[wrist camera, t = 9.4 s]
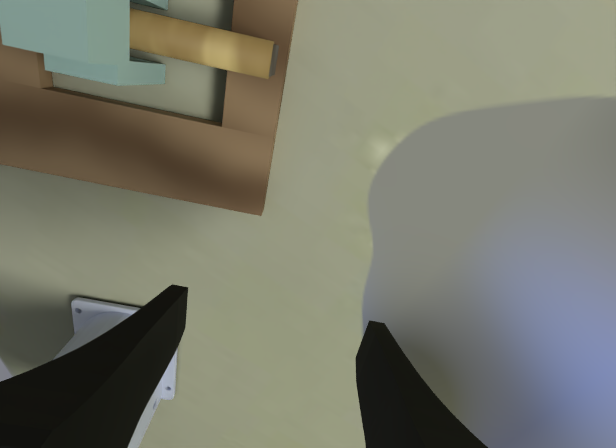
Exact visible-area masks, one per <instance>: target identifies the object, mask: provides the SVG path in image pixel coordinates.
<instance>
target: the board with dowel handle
mask: <svg viewBox="0 0 616 448" xmlns="http://www.w3.org/2000/svg"><path fill="white" fill-rule="evenodd" d="M297 4H298V0H234V7H233V17H232V28H231V31H227V30H223V29H218V28H214V27H210V26H205V25H201V24H197V23H192V22H188V21H184V20H179V19H175V18H171V17H167V16H162V15H158V14H154V13H149V12H145V11H141V10H136V9H132V8H130V45H129V48H131V49H136V50H140V51H144V52H149V53H153V54H158V55H162V56H167V57H171V58H176V59H180V60H184V61H189V62H193V63H198V64H202V65H207V66H211V67H216V68H220V69H224V70H227V79H226V90H225V100H224V110H223V121H222V123H219V122H214V121H210V120H205V119H200V118H196V117H191V116H186V115H182V114H177V113H172V112H168V111H163V110H158V109H154V108H149V107H144V106H140V105H135V104H130V103H126V102H121V101H116V100H112V99H107V98H102V97H98V96H93V95H89V94H84V93H79V92H75V91H70V90H65V89H61V88H56V87H53V81H52V71H47V70H45V65H44V54H43V53H39V52H34V51H29V50H25V49H20V48H16V47H11V46H6V45H3V44H2V36H1V28H0V164H2V165H7V166H12V167H17V168H22V169H28V170H33V171H38V172H43V173H48V174H53V175H58V176H63V177H68V178H73V179H78V180H83V181H88V182H93V183H98V184H103V185H108V186H113V187H118V188H123V189H128V190H133V191H138V192H143V193H148V194H153V195H158V196H163V197H169V198H174V199H179V200H184V201H189V202H194V203H199V204H204V205H209V206H214V207H219V208H224V209H229V210H234V211H239V212H244V213H249V214H254V215H259V216H261V215H262V212H263V210H264V204H265V198H266V192H267V186H268V179H269V173H270V167H271V161H272V155H273V149H274V143H275V137H276V131H277V125H278V119H279V113H280V107H281V101H282V95H283V89H284V83H285V76H286V70H287V64H288V58H289V52H290V46H291V40H292V34H293V28H294V22H295V16H296V10H297Z"/></svg>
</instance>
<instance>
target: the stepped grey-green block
mask: <svg viewBox="0 0 616 448" xmlns="http://www.w3.org/2000/svg"><path fill="white" fill-rule="evenodd" d="M130 2H134V3H138V4H142V5H147V6H151V7H155V8H160V9H164V10H168V0H0V28H1V36H2V44H3V45H6V46H11V47H16V48H20V49H25V50H29V51H34V52H39V53H43V54H44V65H45V70H47V71H52V72H57V73H61V74H66V75H71V76H75V77H80V78H84V79H89V80H94V81H98V82H103V83H108V84H112V85H117V86H121V85H149V84H165V64H161V63H156V62H152V61H147V60H143V59H138V58H133V57H129V45H130Z"/></svg>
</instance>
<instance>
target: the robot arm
mask: <svg viewBox="0 0 616 448" xmlns="http://www.w3.org/2000/svg"><path fill="white" fill-rule="evenodd" d="M187 295H188V287H183V286H177V285H171V286H169V287H168V288H166V289H165V290H164V291H163V292H161V293H160V294H159V295H158V296H156V297H155V298H154V299H152V300H151V301H150V302H148V303H147V304H146V305H145V306H143V307H142V308H137V307H131V306H125V305H120V304H114V303H108V302H103V301H97V300H91V299H86V298H80V297H77V298H75V299H74V300H73V301H72V302H71V307H72V316H73V325H74V333H75V335H74V336H73V337H72V338H71V339H70V340H69V342H68V343H67V344H66V345H65V346H64V347H63V348H62V350H61V351H60V352H59V353H58V354H57V355H56V356H55V357H54V359H53V360H52V361H50V362H48V363H46V364H44V365H41V366H39V367H37V368H34V369H32V370H30V371H27V372H25V373H22V374H20V375H17V376H14V377H12V378H9V379H7V380H4V381H1V382H0V448H138V447H139V445H140V443H141V441H142V438H143V436H144V434H145V432H146V430H147V428H148V425H149V423H150V421H151V419H152V417H153V415H154V412H155V410H156V408H157V406H158V404H159V402H160V399H166V400H170V399H173V397H174V395H175V385H176V367H177V350H178V345H179V343H180V340H181V337H182V335H183V332H184V330H185V324H186V310H187ZM80 309H81V310H80ZM356 383H357V390H358V397H359V404H360V410H361V416H362V423H363V429H364V436H365V443H366V448H488V447H487V446H485V445H484V444H483V443H482V442H481V441H480V440H479V439H478V438H477V437H475V436H474V435H473V434H472V433H471V432H470V431H469V430H468V429H467V428H466V427H465V426H464V425H463V424H462V423H461V422H460V421H459V420H458V419H457V418H456V417H455V416H454V415H453V414H452V413H451V412H450V411H449V410H448V409H447V407H446V406H445V405H444V404H443V403H442V402H441V401H440V400H439V398H437V396H436V395H435V394H434V393H433V391H432V390H431V389H430V388H429V387H428V385H427V384H426V383H425V382H424V380H423V379H422V378H421V377H420V375H419V374H418V372H417V371H416V370H415V368H414V367H413V366H412V364H411V363H410V361H409V360H408V358H407V357H406V356H405V354H404V353H403V351H402V350H401V348H400V347H399V345H398V344H397V342H396V341H395V339H394V338H393V336H392V335H391V333H390V331H389V330H388V328H387V327H386V325H385V324H384V323H380V322H375V321H369V323H368V326H367V328H366V331H365V334H364V336H363V339H362V342H361V345H360V347H359V350H358V353H357V356H356Z"/></svg>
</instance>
